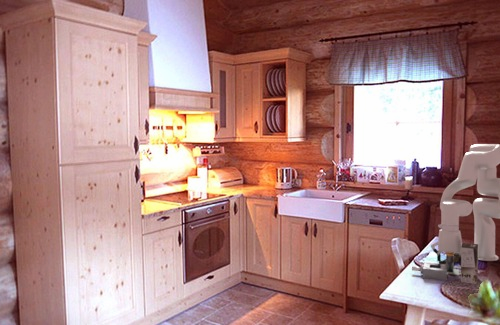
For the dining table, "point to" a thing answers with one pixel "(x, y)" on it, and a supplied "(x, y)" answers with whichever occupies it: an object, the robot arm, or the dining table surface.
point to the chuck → (433, 271)
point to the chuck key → (450, 261)
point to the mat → (456, 271)
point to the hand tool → (456, 258)
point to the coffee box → (469, 263)
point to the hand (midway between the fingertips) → (449, 263)
